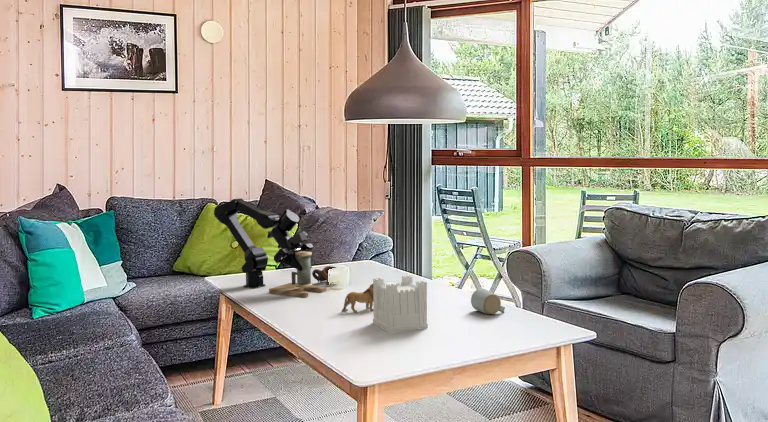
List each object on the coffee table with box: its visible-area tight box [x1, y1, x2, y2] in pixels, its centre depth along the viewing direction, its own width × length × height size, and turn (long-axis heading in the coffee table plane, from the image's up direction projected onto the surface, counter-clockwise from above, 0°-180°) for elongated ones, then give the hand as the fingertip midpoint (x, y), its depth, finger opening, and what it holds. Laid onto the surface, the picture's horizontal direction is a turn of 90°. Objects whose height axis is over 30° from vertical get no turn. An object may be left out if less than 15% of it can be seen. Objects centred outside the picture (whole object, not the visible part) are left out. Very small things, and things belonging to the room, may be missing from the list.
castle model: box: [372, 274, 429, 334], centre depth 207 cm, size 13×15×14 cm
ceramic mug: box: [470, 288, 506, 315], centre depth 223 cm, size 11×8×8 cm
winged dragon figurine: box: [311, 265, 337, 286], centre depth 273 cm, size 12×10×8 cm
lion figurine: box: [341, 283, 374, 313], centre depth 226 cm, size 15×5×9 cm, turn 117°
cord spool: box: [295, 251, 313, 288], centre depth 255 cm, size 6×6×13 cm
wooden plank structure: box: [268, 271, 327, 298], centre depth 258 cm, size 18×13×6 cm
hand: (306, 269), depth 254 cm, fingers closed on cord spool, 5 cm apart
